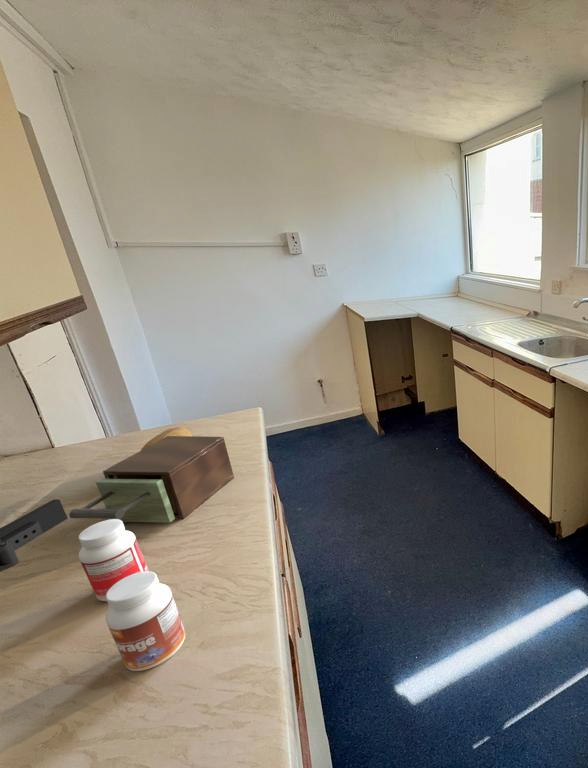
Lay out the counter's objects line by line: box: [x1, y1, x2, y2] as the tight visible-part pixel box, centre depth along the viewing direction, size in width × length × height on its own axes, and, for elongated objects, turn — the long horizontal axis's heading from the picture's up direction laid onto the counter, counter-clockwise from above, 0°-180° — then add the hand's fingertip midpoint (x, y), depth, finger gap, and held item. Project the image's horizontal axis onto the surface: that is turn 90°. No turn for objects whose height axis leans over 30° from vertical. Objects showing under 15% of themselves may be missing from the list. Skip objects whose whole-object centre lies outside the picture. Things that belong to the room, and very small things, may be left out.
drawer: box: [68, 475, 178, 523], centre depth 77 cm, size 20×11×9 cm, turn 179°
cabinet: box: [102, 435, 235, 520], centre depth 83 cm, size 15×13×11 cm
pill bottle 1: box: [78, 519, 150, 602], centre depth 60 cm, size 6×6×11 cm
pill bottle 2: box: [105, 570, 186, 672], centre depth 51 cm, size 6×6×11 cm
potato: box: [140, 427, 193, 451], centre depth 96 cm, size 10×14×8 cm
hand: (3, 510), depth 48 cm, fingers open, 13 cm apart
